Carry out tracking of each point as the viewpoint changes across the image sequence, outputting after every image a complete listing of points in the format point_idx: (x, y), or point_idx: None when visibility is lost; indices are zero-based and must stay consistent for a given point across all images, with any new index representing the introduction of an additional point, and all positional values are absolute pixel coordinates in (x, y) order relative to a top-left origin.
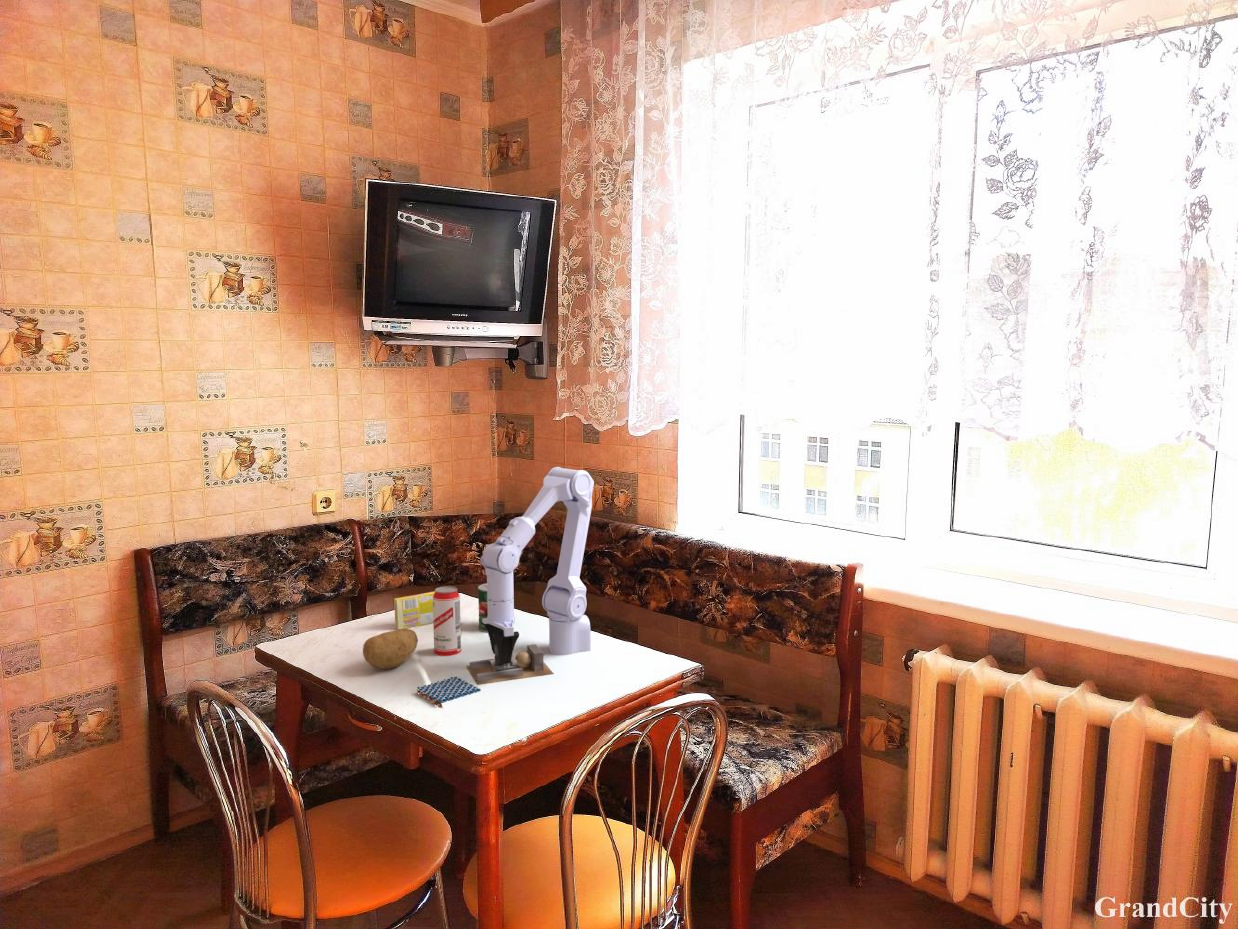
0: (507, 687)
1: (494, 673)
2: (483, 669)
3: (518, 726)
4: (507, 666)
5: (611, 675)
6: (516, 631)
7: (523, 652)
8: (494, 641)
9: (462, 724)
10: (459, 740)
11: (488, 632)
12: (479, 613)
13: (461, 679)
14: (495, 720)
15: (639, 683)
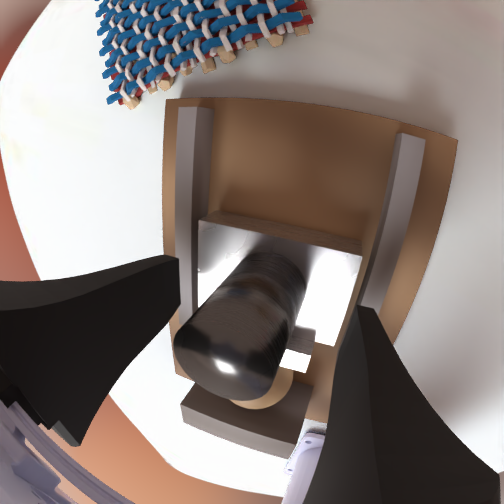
0: (156, 218)
1: (176, 198)
2: (350, 197)
3: (14, 162)
4: (212, 288)
5: (169, 424)
6: (68, 443)
7: (238, 401)
8: (355, 378)
9: (38, 55)
10: (15, 57)
11: (371, 427)
12: None
13: (246, 37)
14: (29, 124)
15: (130, 415)
